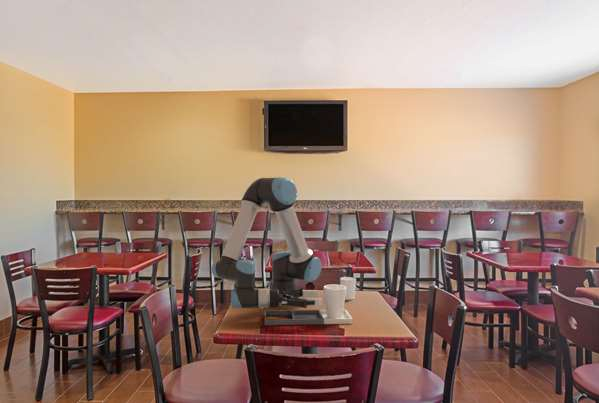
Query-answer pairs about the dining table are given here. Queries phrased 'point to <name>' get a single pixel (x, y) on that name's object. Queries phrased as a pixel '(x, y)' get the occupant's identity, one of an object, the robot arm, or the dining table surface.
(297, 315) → the grey flat rectangular tray
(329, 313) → the foam cup
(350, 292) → the white cup
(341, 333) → the dining table surface
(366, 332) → the dining table surface
